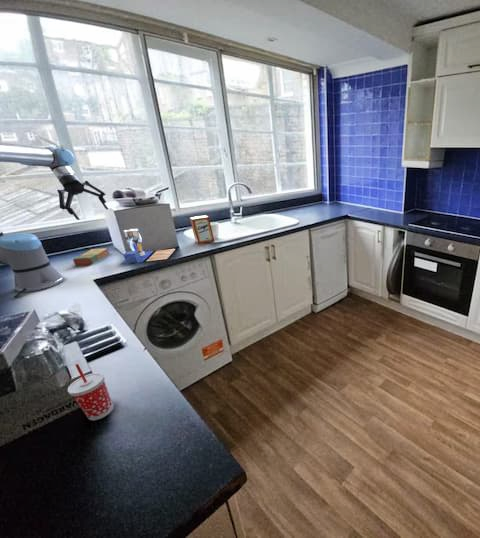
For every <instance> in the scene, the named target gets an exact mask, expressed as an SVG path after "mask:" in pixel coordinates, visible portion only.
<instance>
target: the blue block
mask: <svg viewBox="0 0 480 538" xmlns="http://www.w3.org/2000/svg"><path fill="white" fill-rule="evenodd" d="M122 256H123V258H124V261H126V264H133V263H134V262H135V263H139V262H138V261H139V260H140V259H141V258H140V255H139V252H138V250H137V251H132V250H128V251H126V252H125V253H123V254H122Z"/></svg>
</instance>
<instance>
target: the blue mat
mask: <svg viewBox="0 0 480 538" xmlns="http://www.w3.org/2000/svg"><path fill="white" fill-rule="evenodd" d="M144 252H145V253H146V255H145V256H143V257H140V258H141V259H140V260H139V261H138V262H137V263H143V262H144V261H145V260H147V258H149V257H150V255H152V254H153V253H155V252H154V250H151V251H144ZM134 263H135V264H136V262H134ZM126 264H127V263H126V261H125V260H124V261H123V262H122V263H121V265H126Z"/></svg>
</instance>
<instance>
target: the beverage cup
mask: <svg viewBox="0 0 480 538" xmlns="http://www.w3.org/2000/svg"><path fill="white" fill-rule="evenodd" d="M74 365H75V368H76V369H77V372H78V373H79V376H80V377H79V378H78V379H76V380H74V381H73V382H71V384H69V386H68V387H67V393H68V394H69V395H70V396H71V397H73V399H74V400H75V401H76V403H77V404H78V405H79V407H80V409H81V410H82V412H83V413H84V414H85V416H86V417H87V419H88V420H90V421H98V420H100V419H103V418H105V417H106V416H108V415H109V414H110V413H111V412H112V411H113V410H114V404H113V401H112V398H111V396H110V393H109V390H108V387H107V385H106V382H105V379H106V378H105V375H104V373H102V372H92V373H88V374H84V372H83V371H82V369H81V367H80V365H79V363H76V364H74Z"/></svg>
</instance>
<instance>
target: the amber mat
mask: <svg viewBox="0 0 480 538" xmlns="http://www.w3.org/2000/svg"><path fill="white" fill-rule="evenodd" d="M175 251H176V248H169V249H157V250H156V251H155V252H153V253H152V254H151V256H149V257H148V259H146V262H152V261H162V260H167V259H168V258H169V257H170V256H171V255H172V254H173V253H174V252H175Z"/></svg>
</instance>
